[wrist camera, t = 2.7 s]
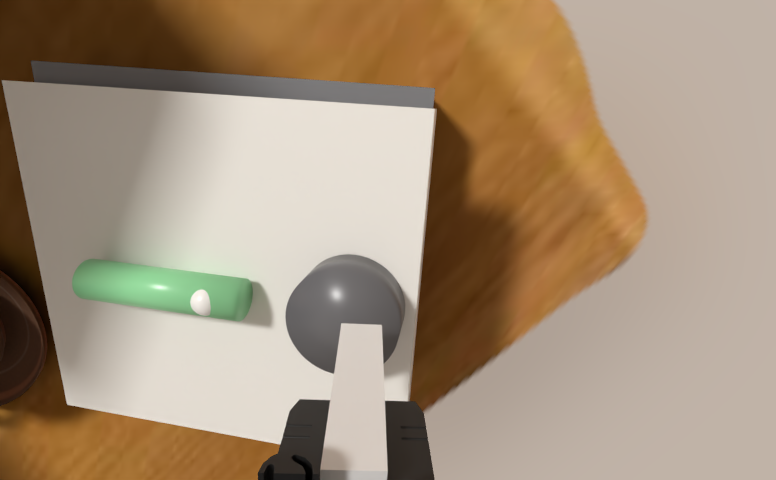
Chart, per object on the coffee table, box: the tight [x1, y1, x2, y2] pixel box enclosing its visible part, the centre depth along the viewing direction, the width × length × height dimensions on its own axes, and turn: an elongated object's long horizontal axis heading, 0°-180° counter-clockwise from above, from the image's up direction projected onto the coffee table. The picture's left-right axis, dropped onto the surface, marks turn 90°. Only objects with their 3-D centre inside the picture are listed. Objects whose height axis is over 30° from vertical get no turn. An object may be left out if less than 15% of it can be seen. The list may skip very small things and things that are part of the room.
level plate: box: [2, 80, 437, 444], centre depth 21 cm, size 20×18×4 cm
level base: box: [31, 61, 435, 109], centre depth 26 cm, size 20×20×4 cm
